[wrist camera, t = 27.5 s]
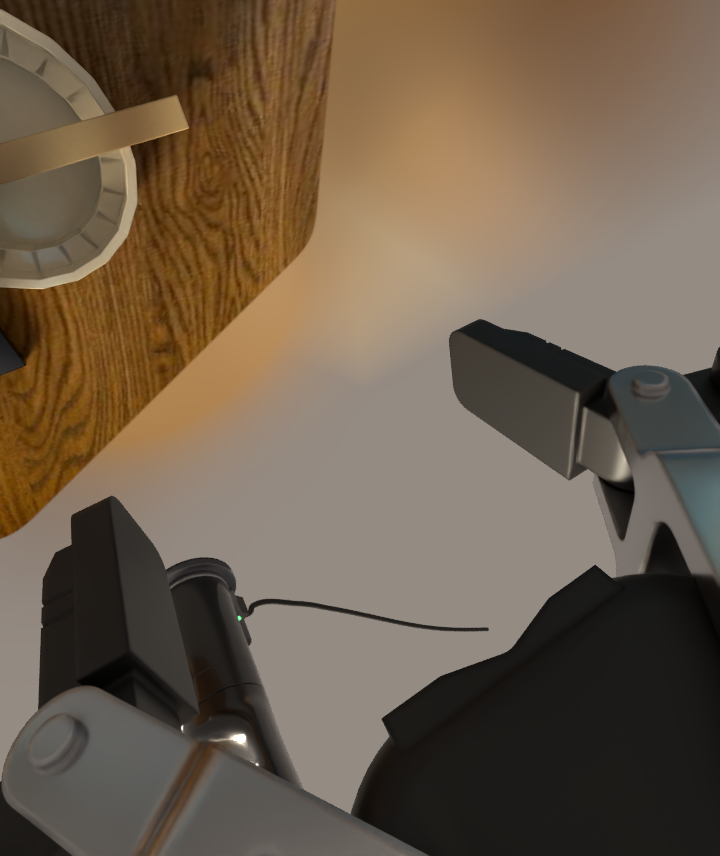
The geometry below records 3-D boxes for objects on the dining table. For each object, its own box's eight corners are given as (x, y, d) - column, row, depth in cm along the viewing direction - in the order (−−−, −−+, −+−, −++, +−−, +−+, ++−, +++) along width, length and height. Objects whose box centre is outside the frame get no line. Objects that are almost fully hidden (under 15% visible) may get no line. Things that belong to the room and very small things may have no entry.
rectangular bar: (171, 95, 33) (176, 94, 32) (184, 128, 35) (189, 128, 33) (-227, 205, 27) (-243, 210, 26) (-194, 240, 28) (-208, 246, 27)
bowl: (169, 158, 40) (182, 162, 36) (56, 309, 41) (55, 331, 37) (-63, -59, 29) (-85, -92, 25) (-207, 156, 30) (-252, 161, 26)
